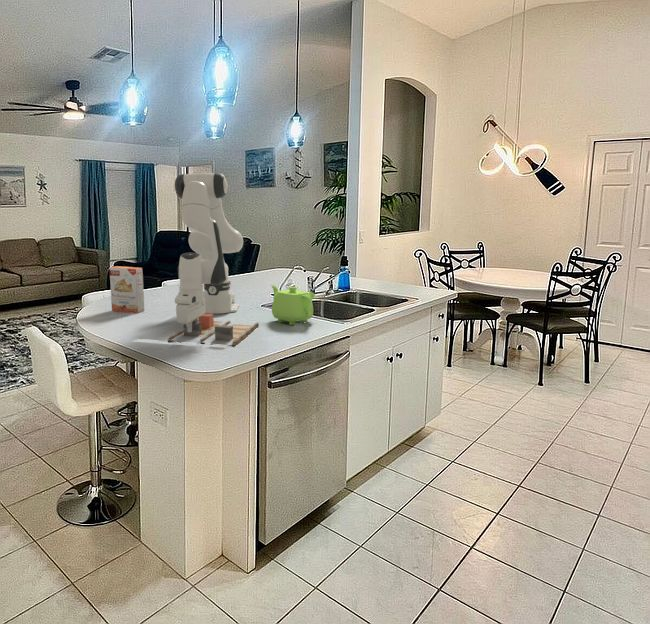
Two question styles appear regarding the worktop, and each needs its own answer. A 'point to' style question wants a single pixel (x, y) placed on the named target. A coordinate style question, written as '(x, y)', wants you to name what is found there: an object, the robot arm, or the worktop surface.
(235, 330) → the strip
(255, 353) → the worktop surface
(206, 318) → the cube
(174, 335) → the lane rails
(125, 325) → the worktop surface
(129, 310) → the cracker box
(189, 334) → the strip
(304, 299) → the teapot
